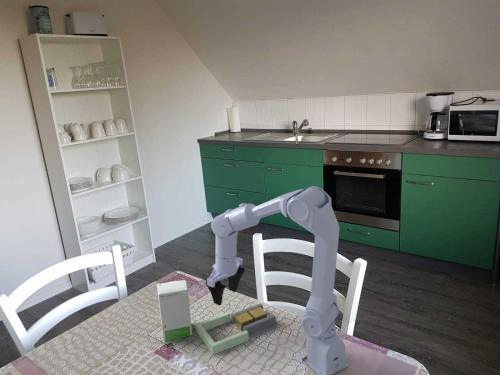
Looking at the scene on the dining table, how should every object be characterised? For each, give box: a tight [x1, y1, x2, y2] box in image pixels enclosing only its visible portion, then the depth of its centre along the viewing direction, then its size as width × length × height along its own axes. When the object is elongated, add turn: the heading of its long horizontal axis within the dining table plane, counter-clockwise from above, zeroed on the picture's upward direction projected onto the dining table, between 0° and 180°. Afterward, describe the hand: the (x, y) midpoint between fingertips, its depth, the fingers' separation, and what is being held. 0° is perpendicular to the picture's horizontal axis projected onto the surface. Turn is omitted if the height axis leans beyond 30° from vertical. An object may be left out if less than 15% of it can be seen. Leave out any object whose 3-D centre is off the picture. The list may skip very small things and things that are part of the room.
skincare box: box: [156, 279, 193, 345], centre depth 112 cm, size 8×7×16 cm
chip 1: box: [234, 312, 254, 332], centre depth 114 cm, size 4×4×3 cm
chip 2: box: [248, 307, 268, 322], centre depth 116 cm, size 4×4×3 cm
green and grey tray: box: [194, 303, 280, 355], centre depth 113 cm, size 12×20×4 cm, turn 119°
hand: (225, 297), depth 113 cm, fingers open, 7 cm apart
